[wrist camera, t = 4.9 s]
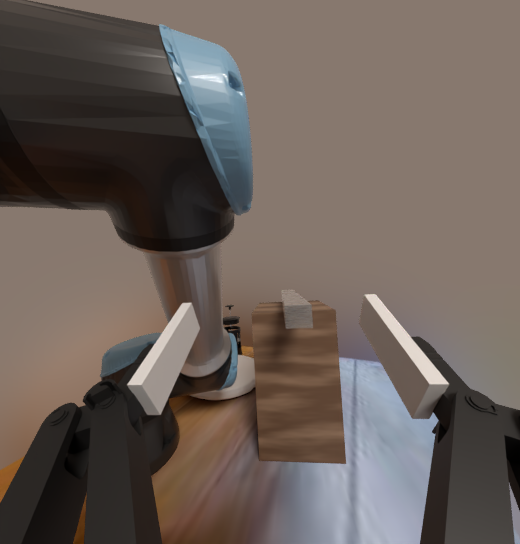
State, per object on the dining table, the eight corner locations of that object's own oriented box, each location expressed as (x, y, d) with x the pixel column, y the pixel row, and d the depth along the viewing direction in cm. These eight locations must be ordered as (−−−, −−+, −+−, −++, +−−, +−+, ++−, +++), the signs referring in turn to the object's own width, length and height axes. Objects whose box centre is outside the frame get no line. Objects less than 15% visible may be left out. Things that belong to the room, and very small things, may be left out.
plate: (260, 350, 81) (265, 386, 54) (260, 366, 81) (264, 410, 54) (193, 348, 80) (164, 383, 53) (192, 364, 79) (162, 407, 53)
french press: (236, 348, 98) (234, 303, 99) (247, 353, 90) (244, 304, 91) (215, 355, 91) (213, 306, 92) (224, 361, 83) (221, 307, 84)
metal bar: (312, 327, 25) (311, 304, 25) (285, 328, 25) (284, 305, 25) (293, 299, 57) (293, 289, 57) (281, 300, 57) (281, 290, 57)
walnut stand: (345, 463, 35) (335, 310, 36) (259, 460, 37) (251, 313, 38) (325, 405, 51) (318, 300, 52) (265, 405, 53) (259, 303, 54)
